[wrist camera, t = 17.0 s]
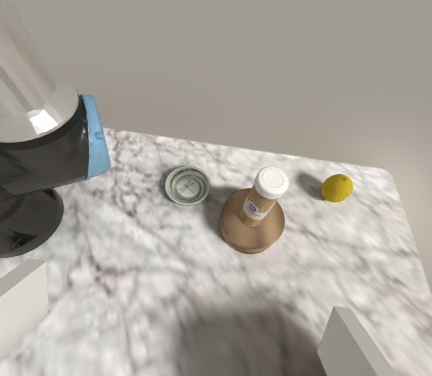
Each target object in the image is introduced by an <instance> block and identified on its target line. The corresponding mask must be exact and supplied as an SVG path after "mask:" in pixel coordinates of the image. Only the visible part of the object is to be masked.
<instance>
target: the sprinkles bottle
mask: <svg viewBox="0 0 432 376" xmlns="http://www.w3.org/2000/svg"><path fill="white" fill-rule="evenodd" d="M288 184H289V182H288V178H287V176H286V174H285V173H284V172H283V171H282V170H280V169H278V168H276V167H265V168H263V169H261V170H260V171H259V173H258V174H257V176H256V178H255V181H254V185H253V187H252V189H251V191H250V193H249V194H248V196H247V198H246V200H245V202H244V205H243V207H242V208H241V210H240V218H241V220H242V222H243V223H244V224H246V225H248V226H257V225H259V224H260V223H261V222H262V220H263V218H264V217H265V216H266V215H267V213H268V212H269V211H270V209H271V208H272V207H273V205H274V204H275V203H276V201H277V200H278V198H279V197H281V196H282V195H283V194H284V192H285V191H286V190H287V188H288Z"/></svg>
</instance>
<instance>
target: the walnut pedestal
mask: <svg viewBox="0 0 432 376" xmlns="http://www.w3.org/2000/svg"><path fill="white" fill-rule="evenodd" d="M251 189H252V188H247V189H241V190H239V191H236V192H235V193H233V194H232V195H231V196H230V197H229V198H228V199H227V200H226V202H225V204H224V207H223V210H222V213H221V217H220V223H219V225H220V231H221V234H222V236H223V238H224V240H225V241H226V242H227V244H228V245H229V246H231V247H232V248H233V249H235V250H237V251H239V252H241V253H245V254H256V253H260V252H262V251H264V250H266V249H267V248H268V247H269V246H271V245H272V244H273V243H274V242H275V241H276V240H277V239H278V238H279V237H280V236H281V234H282V232H283V229H284V224H285V219H284V214H283V211H282V208H281V206H280V205H279V203H278V202H277V201H276V203H275V204H274V205H273V207H272V208H271V209H270V211H269V212H268V213H267V215H266V216H265V217H264V218H263V220H262V222H261V223H260V224H259V225H257V226H248V225H246V224H244V223H243V222H242V220H241V218H240V210H241V208H242V207H243V205H244V202H245V200H246V198H247V196H248V194H249V193H250V191H251Z"/></svg>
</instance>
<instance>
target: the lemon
mask: <svg viewBox="0 0 432 376" xmlns="http://www.w3.org/2000/svg"><path fill="white" fill-rule="evenodd" d="M352 189H353V184H352V181H351V180H350V178H348V177H347V176H345V175H342V174H337V175H333V176H331V177H329V178H328V179H326V181H325V182H324V183H323V185H322V187H321V193H322V196H323V197H324V198H325V199H326V200H328V201H330V202H340V201H342V200H344V199H346V198H347V197H348V196H349V195H350V193H351V191H352Z"/></svg>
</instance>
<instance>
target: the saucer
mask: <svg viewBox="0 0 432 376" xmlns="http://www.w3.org/2000/svg"><path fill="white" fill-rule="evenodd" d="M165 190H166V193H167V195H168V197H169V198H170V199H171V200H172V201H174V202H175V203H177V204H180V205H185V206H191V205H196V204H198V203H200V202H202V201H203V200H204V199H205V198H206V197H207V196H208V194H209V192H210V180H209V178H208V176H207V175H206V174H205V173H204V172H203V171H202V170H200V169H198V168H196V167H192V166H183V167H179V168H177V169H175V170H173V171H172V172H171V173H170V174H169V175H168V177H167V179H166V181H165Z"/></svg>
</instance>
